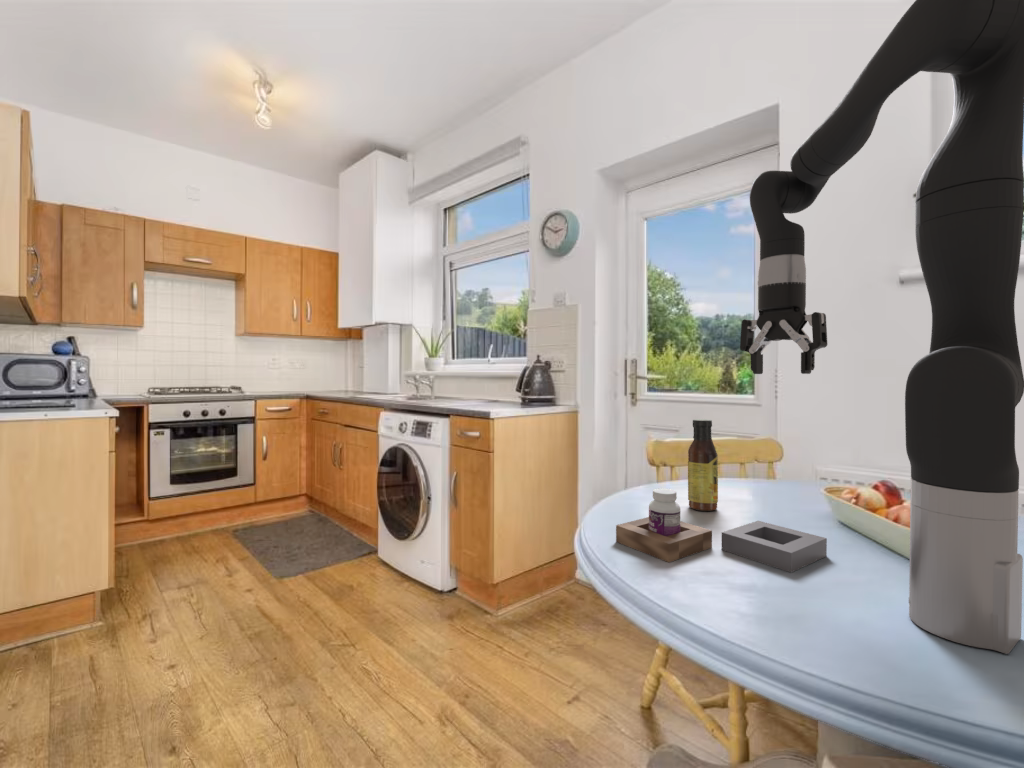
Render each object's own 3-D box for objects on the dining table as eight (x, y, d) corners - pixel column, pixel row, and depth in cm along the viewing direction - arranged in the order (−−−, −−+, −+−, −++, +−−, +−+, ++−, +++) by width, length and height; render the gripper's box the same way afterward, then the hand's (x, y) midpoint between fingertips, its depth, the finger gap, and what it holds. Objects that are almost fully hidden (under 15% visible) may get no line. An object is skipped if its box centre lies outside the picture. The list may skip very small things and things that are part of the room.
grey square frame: (826, 556, 79) (826, 538, 79) (791, 572, 73) (791, 552, 73) (758, 536, 89) (758, 520, 89) (721, 549, 82) (721, 532, 82)
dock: (711, 547, 83) (712, 530, 83) (668, 562, 77) (669, 543, 77) (658, 529, 93) (658, 514, 93) (616, 541, 87) (616, 525, 86)
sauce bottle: (720, 513, 104) (721, 421, 104) (690, 511, 105) (690, 421, 105) (714, 505, 110) (714, 418, 110) (685, 503, 112) (686, 418, 111)
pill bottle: (642, 541, 87) (642, 488, 86) (667, 538, 88) (668, 486, 88) (660, 552, 81) (660, 495, 81) (686, 548, 83) (686, 493, 83)
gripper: (835, 279, 83) (834, 373, 83) (754, 291, 95) (753, 373, 95) (814, 275, 79) (813, 374, 79) (732, 288, 91) (732, 374, 91)
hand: (780, 373), depth 87 cm, fingers open, 8 cm apart
